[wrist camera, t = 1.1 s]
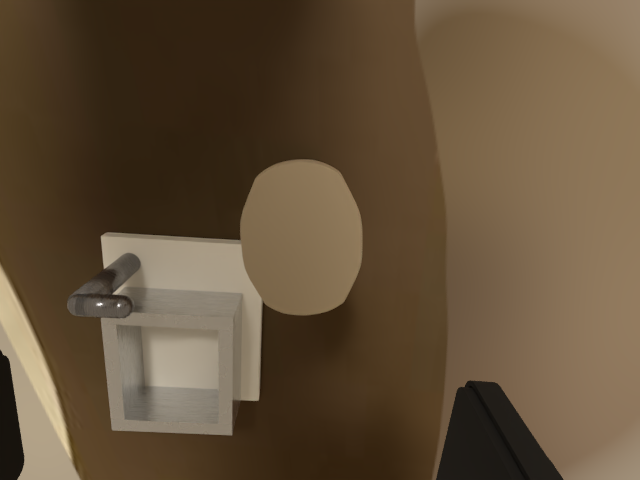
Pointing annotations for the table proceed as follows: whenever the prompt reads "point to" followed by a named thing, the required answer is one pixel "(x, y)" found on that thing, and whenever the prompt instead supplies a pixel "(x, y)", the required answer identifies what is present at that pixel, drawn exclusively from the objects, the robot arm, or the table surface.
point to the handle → (301, 237)
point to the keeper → (175, 331)
